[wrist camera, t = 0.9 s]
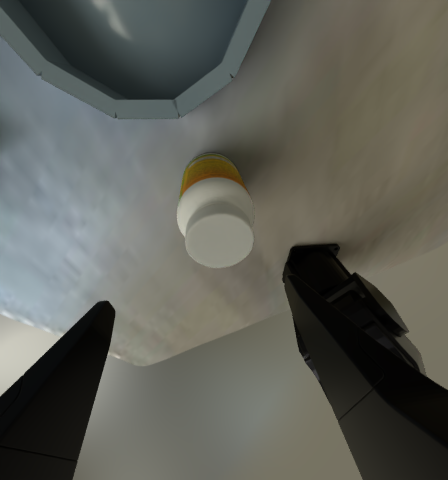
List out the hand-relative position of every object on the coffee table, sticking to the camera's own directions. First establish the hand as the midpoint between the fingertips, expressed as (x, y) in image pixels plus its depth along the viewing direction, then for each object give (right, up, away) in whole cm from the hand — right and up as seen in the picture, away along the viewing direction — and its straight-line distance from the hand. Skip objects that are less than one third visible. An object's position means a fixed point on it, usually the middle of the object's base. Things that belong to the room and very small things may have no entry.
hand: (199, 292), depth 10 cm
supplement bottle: (0, +8, +9) cm, 12 cm away
